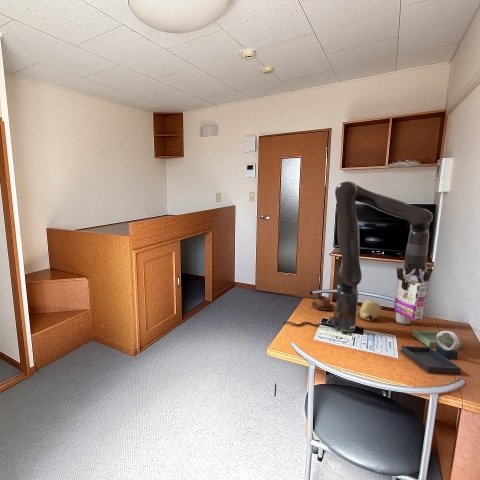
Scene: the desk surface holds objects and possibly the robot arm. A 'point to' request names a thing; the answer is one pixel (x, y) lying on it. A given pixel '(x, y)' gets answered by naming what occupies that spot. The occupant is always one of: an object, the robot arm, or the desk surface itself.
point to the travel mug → (402, 319)
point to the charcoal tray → (430, 360)
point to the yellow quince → (369, 310)
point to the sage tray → (433, 338)
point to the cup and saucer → (323, 303)
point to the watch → (446, 350)
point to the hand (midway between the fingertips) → (411, 289)
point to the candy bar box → (411, 299)
